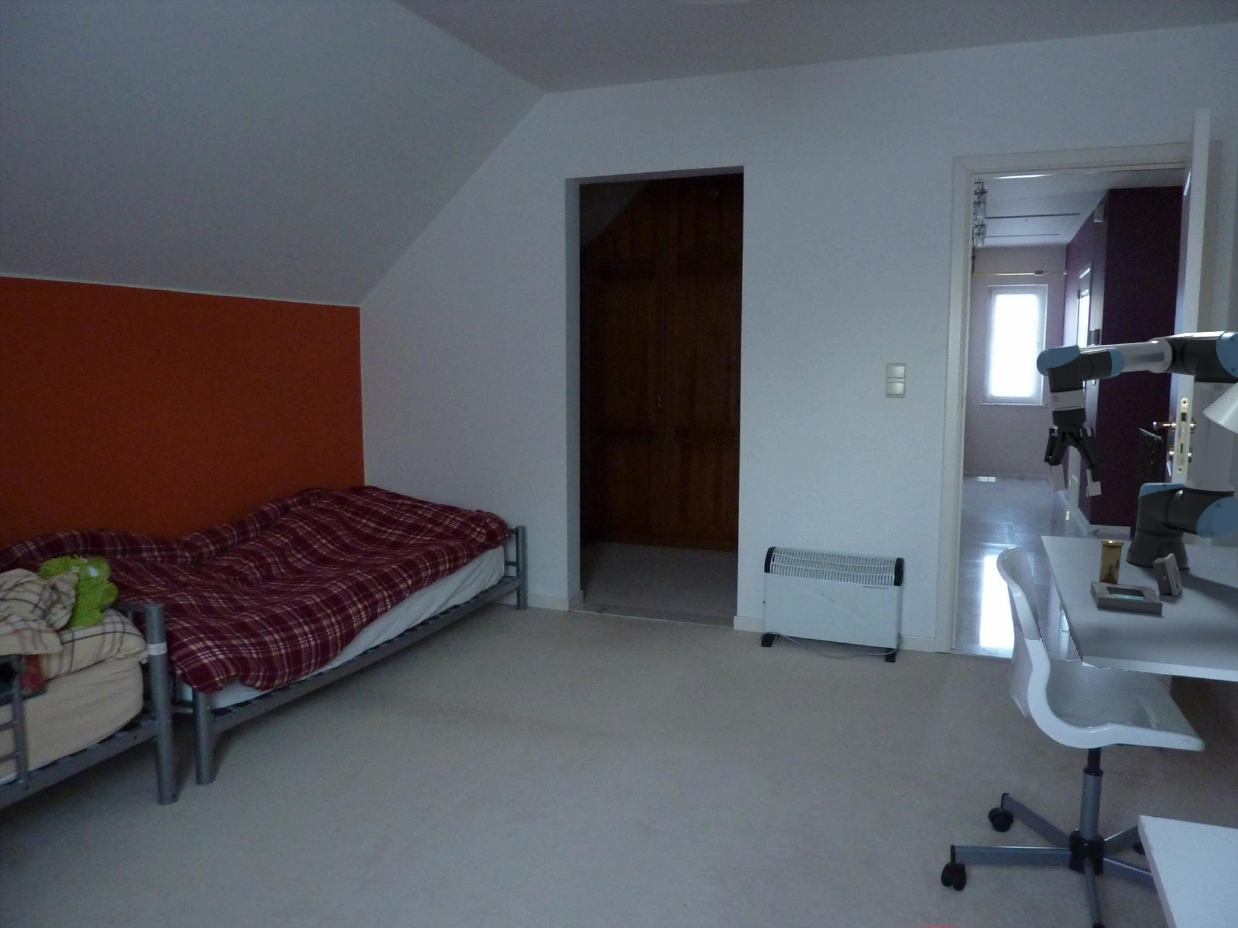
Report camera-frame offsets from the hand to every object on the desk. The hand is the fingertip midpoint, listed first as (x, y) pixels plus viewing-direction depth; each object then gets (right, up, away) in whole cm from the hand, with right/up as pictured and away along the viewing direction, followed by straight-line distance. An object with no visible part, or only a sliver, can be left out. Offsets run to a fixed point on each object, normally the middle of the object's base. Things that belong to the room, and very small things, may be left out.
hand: (1076, 492), depth 228 cm
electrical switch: (+22, -25, 0) cm, 33 cm away
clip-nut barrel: (+11, -23, +6) cm, 27 cm away
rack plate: (+6, -26, -11) cm, 28 cm away
